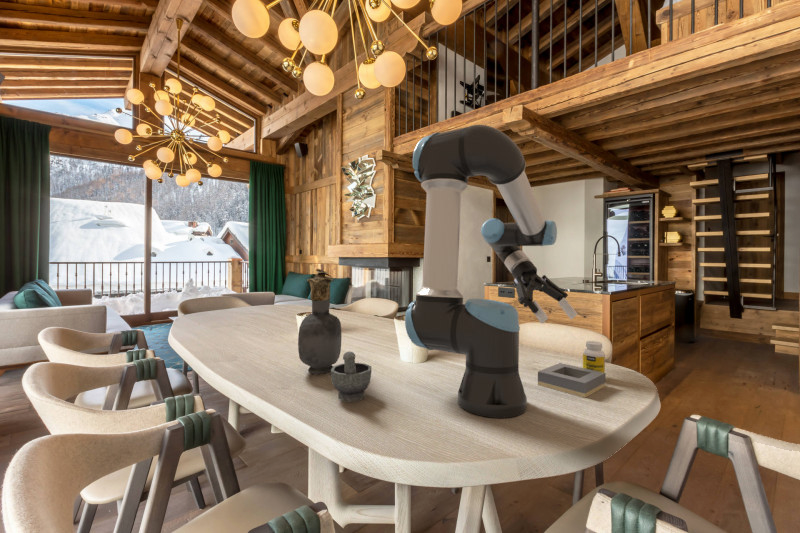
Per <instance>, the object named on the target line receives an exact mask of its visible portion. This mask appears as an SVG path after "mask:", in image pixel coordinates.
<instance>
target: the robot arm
mask: <svg viewBox="0 0 800 533" xmlns="http://www.w3.org/2000/svg"><path fill="white" fill-rule="evenodd" d="M526 166H527V163H526V160H525V157H524V154H523V153H522V150H521V149H520V148H519V147H518V145H517V143H516V142H515V141H514V140H513V139H512V138H510V137H509V136H508V135H507V134H506V133H504V132H502V131H501V130H499V129H498V128H495V127H493V126H490V125H486V124H473V125H469V126H466V127H461V128H456V129H452V130H447V131H442V132H440V131H439V132H438V131H437V132H434V133H432V134H429V135H426V136H424V137H422V138H421V139H420V140H419V141H418V142H417V144H416V145H415V148H414V150H413V154H412V168H413V170H414V176H415V178H416V179H417V180H418V181H419V182H420V187H421V188H422V189H423V190H424V191H425V192H426V197H425V198H426V200H425V203H426V204H425V223H424V241H423V242H424V247H423V248H424V249H423V266H422V267H423V268H422V286H421V288H420V290H418V292H417V293H415V300H413V301H411V302H410V303H409V305H408V306H407V309H406V311H405V317H404V325H405V331H406V333H407V336H408V338H409V340H410V341H411V343H413V344H414V346H416V347H418V348H423V349H426V350H429V351H434V350H435V351H440V352H445V353H452V354H459V355H465V369H464V372H463V376H462V378H461V382H460V385H459V388H458V391H457V404H458V406H459V407H460V408H461V409H463V410H464V411H466V412H468V413H471V414H474V415H476V416H481V417H487V418H496V419H497V418H499V419H500V418H502V419H504V418H512V417H517V416H520V415H522V414H524V413H525V412H526V411H527V409H528V407H527V405H528V404H527V403H528V400H527V395H526V391H525V388H524V386H523V383H522V378H521V376H520V370H519V368H520V366H519V362H520V360H519V357H520V353H519V352H520V330H521V327H520V325H519V312H518V309H517V308H515V306H513V305H511V304H509V303H506V302H502V301H498V300H494V299H493V300H492V299H483V298H469V299H467V300H466V302H465V303H464V296H463V294H462V293H461V292H460V291H459V289H458V282H459V281H458V278H459V277H458V276H459V255H460V254H459V252H460V231H461V230H460V226H461V207H462V206H461V204H462V202H461V201H462V193H464V191H466V189H468V186H469V185H468V183H469V178H471V177H478V176H485V177H486V178H487V179H488V181H489V182H490V183H491V184H493V185H495V186H496V187H497V190H498V191H499V193H500V195H501V197H502V198H503V200H504V201H503V202H504V203H505V205H506V206H507V208H508V210H509V212H510V214H511V215H512V218H513V220H514V221H515V222H503V221H501V220H500V219H499V218H489V219H487V220H486V221H485V222H484V223H483V224H482V225H481V228H480V234H481V236H482V237H483V239H484V241H485V242H486V243H487V244H488V245H489V246H490V247H491V248H492V250H493V251H494V253H495V254H496V255H497V256H498V259H499V258H500V260H501V261H502V263H503V264H504V266H505V267H506V268H507V270H508V271H509V273H510V274H511V275H512V277H513V278H514V280H512V283H513V285H514V286H515V289H516V294H517V297H518V298H517V299H518V301H519V304H520V305H523V307H524V308H527V307H528V308H529V310H530V311H531V312H532V313H533V315H534V316H535V317H536V318H537V320H538V322H540V324H544V323H545V322H546V321H547V320H548V319H549V316H548V315H547V313H546V312H545V311H544V309H543V308H542V307H541V305H540V304H539V303H538V301H537V300H535V299H534V291H539V292H543V293H544V294H545V295H548V296H549V297H550V298H553V300H555V301H556V302H557V304H558V305H559V307H560V309H562V310H563V312H564V313H565V314H566V315H567V317H568V318H569V320H573V319H574V318H575V317H576V316H577V315H578V312H577V311H576V310H575V309H574V307H573V306H572V305H571V303H570V302H569V301H568V300H567V299H566V298H567V297H569V295H568V293H567V292H566V291H564V289H561V287H559V286H558V285H557V284H556V283H554V282H553V281H552V280H550V278H548V277H547V276H546V274H543V275H542V276H540V275H538V268H537V267H536V266H535V264H534V263H533V262H532V261H531V259H530V258H529V257H528V256H527V254H526V253H525V252H524V251H523V250H522V248H521V247H543V246H544V247H545V246H552V245H555V243H556V241H557V235H558V229H557V227H558V226H557V224H556V222H555V221H553V220H545V218H544V216H543V213H542V210H541V208H540V206H539V203H538V201H537V199H536V196H535V194H534V191H533V189H532V187H531V184H530V181H529V179H528V176H527V174H526V171H525V170H526Z"/></svg>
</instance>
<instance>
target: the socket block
mask: <svg viewBox="0 0 800 533" xmlns="http://www.w3.org/2000/svg"><path fill="white" fill-rule="evenodd" d="M606 374H607V373H606V372H605V373H603V372H599V371H594V370H590V369H585V368H583V367H581V366H576V365H571V364H567V363H563V362H559V363H556V364H554V365H552V366H549V367H546V368H543V369H541V370H539V371H537V386H541V387H544V388H548V389H552V390H556V391H559V392H562V393H566V394H569V395H573V396H577V397H580V398H584V399H585V398H587V397H589V396H591V395H592V394H594V393H596V392H597V391H599V390H602V389H603V388H606Z"/></svg>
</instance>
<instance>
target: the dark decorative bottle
mask: <svg viewBox="0 0 800 533" xmlns="http://www.w3.org/2000/svg"><path fill="white" fill-rule="evenodd" d="M315 271H316V272H317V273H316V274H315V276H314V277H313V278H308V279H307V280H306V281H307V282H308V283H309V286H310V300H311V313H310V314H309V315H307V316H305V317H304V318H303V320H302V321H301V323H300V325H299V329H298V336H297V338H298V339H297V340H298V341H297V349H298V355H299V356H298V358H299V359H300V361H301V362H302V363H303V364H304V365H306V366H309V368H308V373H309V374H310V373H311V375H314V374H318V375H317V376H320V374H323V375H327V373H328V374H331V369H332V367H334V366H333V365H334V364H336V363H337V362H338V360H339V358H340V355H341V352H342V323H341V321H340V319H339V317H337V316H336V315H334V314H332V313H330V305H331V303H330V300H331V283H332V282H333V281H334V279H333V278H329V277H332V276H331V275H330V273H328V272H327V271H325V270H322V269H320V268H316V269H315ZM327 276H328V277H327Z"/></svg>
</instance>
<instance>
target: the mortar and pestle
mask: <svg viewBox="0 0 800 533" xmlns="http://www.w3.org/2000/svg"><path fill="white" fill-rule="evenodd" d="M342 360H344V362H343V363H340V364H336V365H334V366H333V367H332V369H331V372H330V380H331V384H332V385H333V387H334V389H335V390H336V391H338V400H340V401H341V402H346V401H347V403H351V402H352V403H354V402H359V401H361V400H364V399H365V390H367V388H368V387H369V384H370V383H371V377H372V366H371V365H369V364H367V363H362V362H360V363H359V362H356V354H355V353H354V352H353V351H346V352H344V353H343V355H342ZM353 401H354V402H353Z"/></svg>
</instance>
